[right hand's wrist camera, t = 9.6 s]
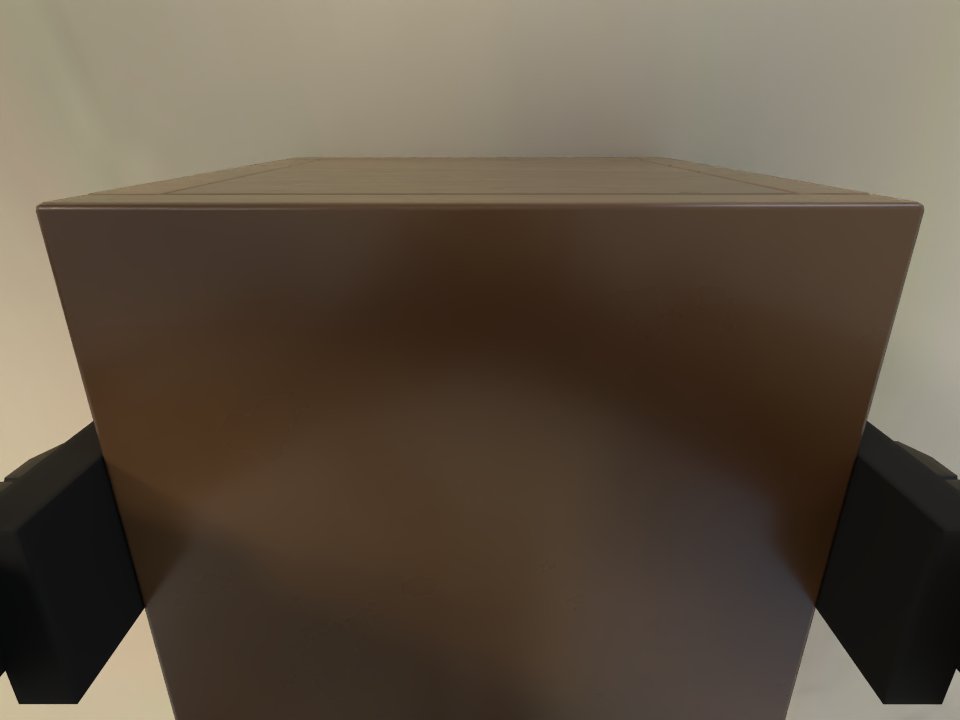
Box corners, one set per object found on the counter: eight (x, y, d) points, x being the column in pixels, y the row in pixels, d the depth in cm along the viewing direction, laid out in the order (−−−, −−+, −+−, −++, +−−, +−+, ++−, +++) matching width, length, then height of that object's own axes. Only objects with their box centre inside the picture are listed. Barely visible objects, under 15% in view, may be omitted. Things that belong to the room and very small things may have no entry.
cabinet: (608, 680, 24) (695, 1053, 14) (351, 681, 24) (265, 1054, 14) (666, 157, 16) (930, 202, 7) (292, 157, 16) (30, 203, 7)
